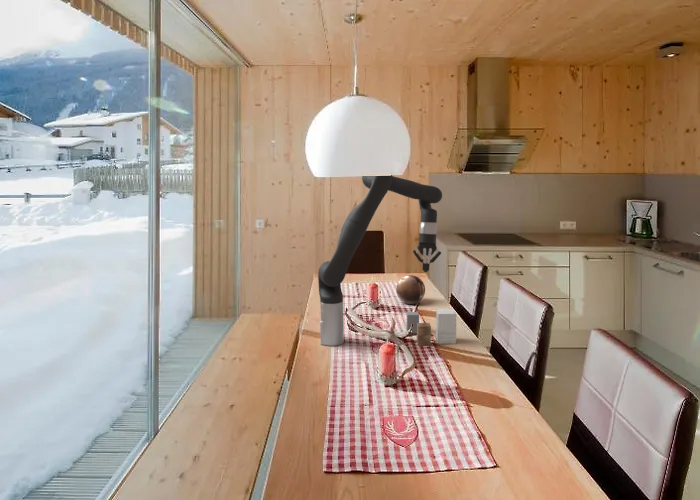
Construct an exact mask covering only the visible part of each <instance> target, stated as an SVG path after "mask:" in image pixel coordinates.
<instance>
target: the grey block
mask: <svg viewBox="0 0 700 500" xmlns="http://www.w3.org/2000/svg"><path fill="white" fill-rule="evenodd" d="M412 322H413V327H412V333H411V334H417V323H420V313H419V311H406V332H407V331H408V330H409V329H410V327H411V324H412Z"/></svg>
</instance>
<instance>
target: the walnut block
mask: <svg viewBox="0 0 700 500" xmlns="http://www.w3.org/2000/svg"><path fill="white" fill-rule="evenodd" d="M431 339H432V326H431V323H430V322H419V323H417V333H416V343H417V346H418V347H429V346H430V347H431V346H432V340H431Z"/></svg>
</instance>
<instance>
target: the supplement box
mask: <svg viewBox="0 0 700 500" xmlns="http://www.w3.org/2000/svg"><path fill="white" fill-rule="evenodd" d="M435 317H436V318H435V319H436V321H435V322H436V329H435V335H436V336H435V338H436V341H437V344H439V345H447V344H448V345H449V344H451V345H453V344H455V345H456V344H457V313H456V311H455V310H454V309H453V308H451V309H450V308H446V309H445V308H441V309H436V313H435Z"/></svg>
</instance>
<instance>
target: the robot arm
mask: <svg viewBox="0 0 700 500" xmlns="http://www.w3.org/2000/svg"><path fill="white" fill-rule="evenodd" d="M361 179H362V180H361V181H362V183H363V185H364V186H365V187H366V188H367V189H369V190H368V192H367V194H366V196H365V197H364V199H363V200H362V201H361V202H360V203H359V204H357V206H355V207H354V208H353V209H352V210H350V212H349V214H347V217H346V219H345V221H344V222H343V224H342V227H341V229H340V232H339V236H338V241H337V245H336V249H335V251H334V252H333V255H332V257H331V258H330V260H328V261H324V262H323V263H322V264H321V265H320V267H319V268H318V273H317V277H318V279H317V280H318V294H319V298H320V299H319V302H320V306H319V307H320V322H319V328H320V329H319V330H320V345H322V346H323V345H324V346H331V347H332V346H340V345H343V344H344V342H345V341H344V340H345V336H344V335H345V334H344V295H343V292H342V282H343V281H344V279H345V277H346V274H347V271H348V269H349V266H350V263H351V260H352V258H353V257H354V254H355V253H356V251H357V249H358V247H359V246H360V244H361V241H362V239H363V238H364V236H365V233H366V232H367V230H368V228H369V225H370V223H371V221H372V219H373V218H374V216H375V213H376V211H377V209H378V207H380V204H381V202H382V201H383V200H384V198H385V196H386V195H387V193H388V192H392V193H396V194H398V195H401V196H403V197H405V198H406V197H407V198H408V199H409V198H410V199H414V200H418V205H419V210H420V224H419V230H418V245H417V246H416V248H415V249H413V250H412V253H413V255H414V256H415V258H416V259H417V260H418V262H419V263H422V267H421V268H422V271H423V272H424V273H428V272H429V271H430V264H431V263H432V264H433V263H434V262H435V261H436V260H437V259H438V258H439V257H440V255H442V252H441V251H440V250H439V249H438V247H437V233H438V226H437V223H438V222H437V220H438V212H437V209H434V208H432V205H431V204H438V203H439V202H440V201H441V200H442V198H443V193H442V190H441V189H440V188H439V187H437V186H433V185H430V184H422V183H419V182H418V181H413V180H410V179H407V178H401V177H397V176H394V175H391V176H361ZM419 253H420V254H421V256H422V258H421V256H420V255H419ZM431 257H432V258H431Z"/></svg>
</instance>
